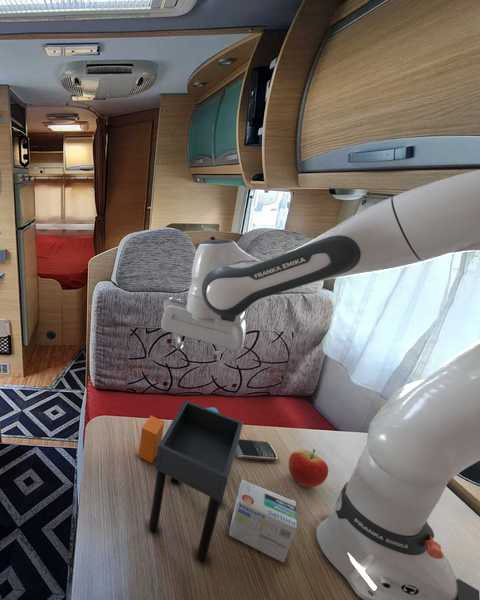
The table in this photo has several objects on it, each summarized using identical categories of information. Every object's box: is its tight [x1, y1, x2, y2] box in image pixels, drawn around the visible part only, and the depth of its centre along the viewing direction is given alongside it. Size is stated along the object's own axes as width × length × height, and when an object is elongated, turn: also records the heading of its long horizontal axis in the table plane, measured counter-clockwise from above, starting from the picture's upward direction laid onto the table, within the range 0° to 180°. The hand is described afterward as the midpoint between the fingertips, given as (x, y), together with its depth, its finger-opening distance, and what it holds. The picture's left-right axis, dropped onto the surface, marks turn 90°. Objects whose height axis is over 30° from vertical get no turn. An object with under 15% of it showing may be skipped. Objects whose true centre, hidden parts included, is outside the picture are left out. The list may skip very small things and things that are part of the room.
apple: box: [288, 448, 329, 488], centre depth 82 cm, size 8×8×10 cm
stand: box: [148, 470, 227, 563], centre depth 72 cm, size 12×16×18 cm
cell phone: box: [235, 438, 278, 462], centre depth 92 cm, size 6×11×1 cm, turn 84°
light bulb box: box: [228, 478, 298, 564], centre depth 69 cm, size 11×7×11 cm, turn 59°
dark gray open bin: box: [154, 400, 244, 503], centre depth 67 cm, size 13×17×6 cm
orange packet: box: [138, 415, 165, 464], centre depth 90 cm, size 4×6×10 cm, turn 146°
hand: (197, 353), depth 85 cm, fingers open, 8 cm apart
